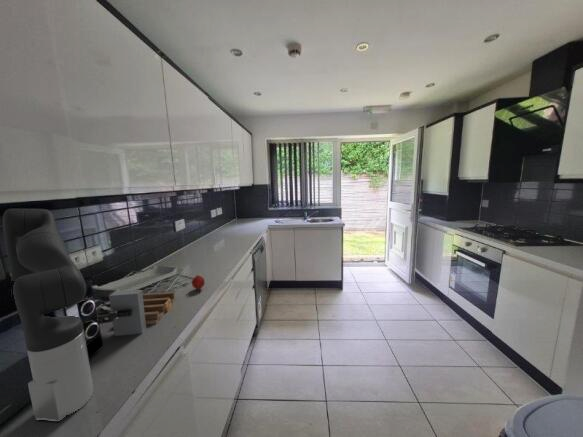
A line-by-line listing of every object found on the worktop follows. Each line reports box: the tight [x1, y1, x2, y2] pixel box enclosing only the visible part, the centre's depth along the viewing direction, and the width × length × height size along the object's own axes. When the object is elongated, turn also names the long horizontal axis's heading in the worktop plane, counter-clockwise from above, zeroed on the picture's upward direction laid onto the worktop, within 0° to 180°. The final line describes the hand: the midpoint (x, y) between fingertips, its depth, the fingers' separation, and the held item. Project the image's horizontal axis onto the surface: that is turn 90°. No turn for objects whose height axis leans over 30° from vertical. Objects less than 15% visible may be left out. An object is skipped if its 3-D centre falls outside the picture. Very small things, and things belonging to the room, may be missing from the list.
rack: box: [142, 291, 177, 325], centre depth 95 cm, size 20×15×4 cm
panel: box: [108, 289, 147, 337], centre depth 81 cm, size 3×9×15 cm, turn 97°
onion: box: [191, 274, 205, 291], centre depth 114 cm, size 6×6×8 cm
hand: (135, 308), depth 81 cm, fingers open, 5 cm apart
